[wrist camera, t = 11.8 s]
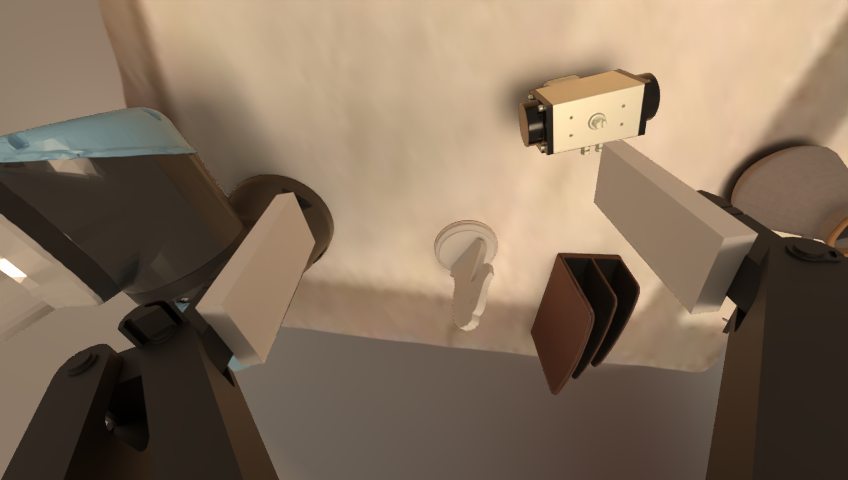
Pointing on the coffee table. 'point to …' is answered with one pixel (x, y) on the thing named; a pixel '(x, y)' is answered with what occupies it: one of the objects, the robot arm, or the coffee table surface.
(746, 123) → the coffee table surface
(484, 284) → the chess piece
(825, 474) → the robot arm
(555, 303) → the letter holder
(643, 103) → the pneumatic valve
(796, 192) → the coffee pot
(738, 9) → the coffee table surface
